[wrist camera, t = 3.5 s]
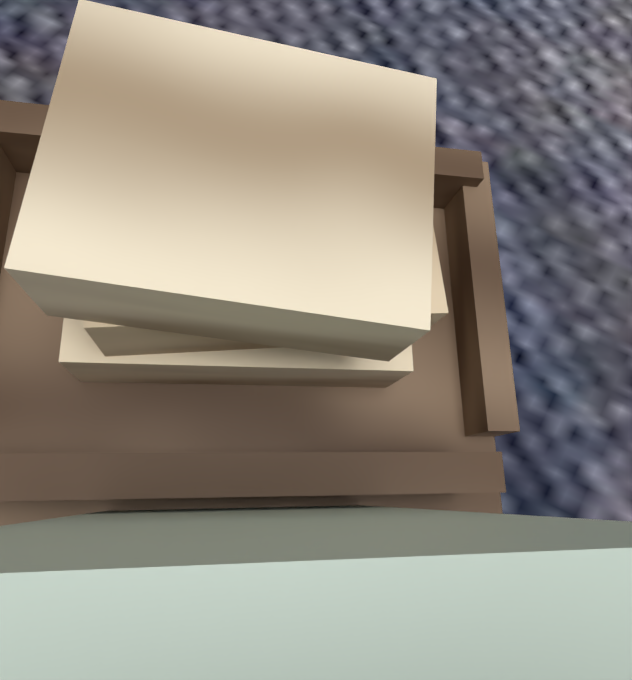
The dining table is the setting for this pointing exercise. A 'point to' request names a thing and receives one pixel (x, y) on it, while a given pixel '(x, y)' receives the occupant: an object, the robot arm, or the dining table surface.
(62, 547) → the sage panel
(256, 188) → the offcut stack
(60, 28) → the dining table surface
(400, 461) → the tray
